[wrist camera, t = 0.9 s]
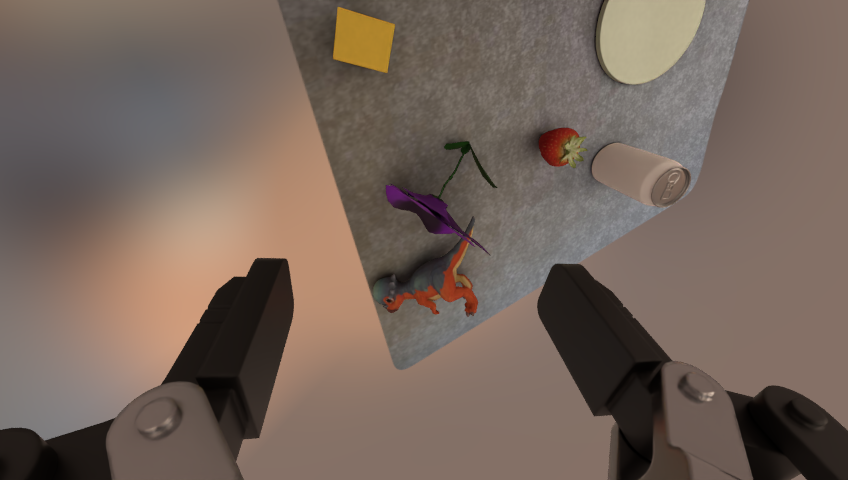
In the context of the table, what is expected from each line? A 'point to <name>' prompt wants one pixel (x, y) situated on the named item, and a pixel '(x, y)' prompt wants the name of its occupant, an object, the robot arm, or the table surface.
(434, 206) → the flower
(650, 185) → the can
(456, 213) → the table surface
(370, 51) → the sponge
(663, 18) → the plate
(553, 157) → the fruit
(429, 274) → the toy
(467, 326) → the table surface
